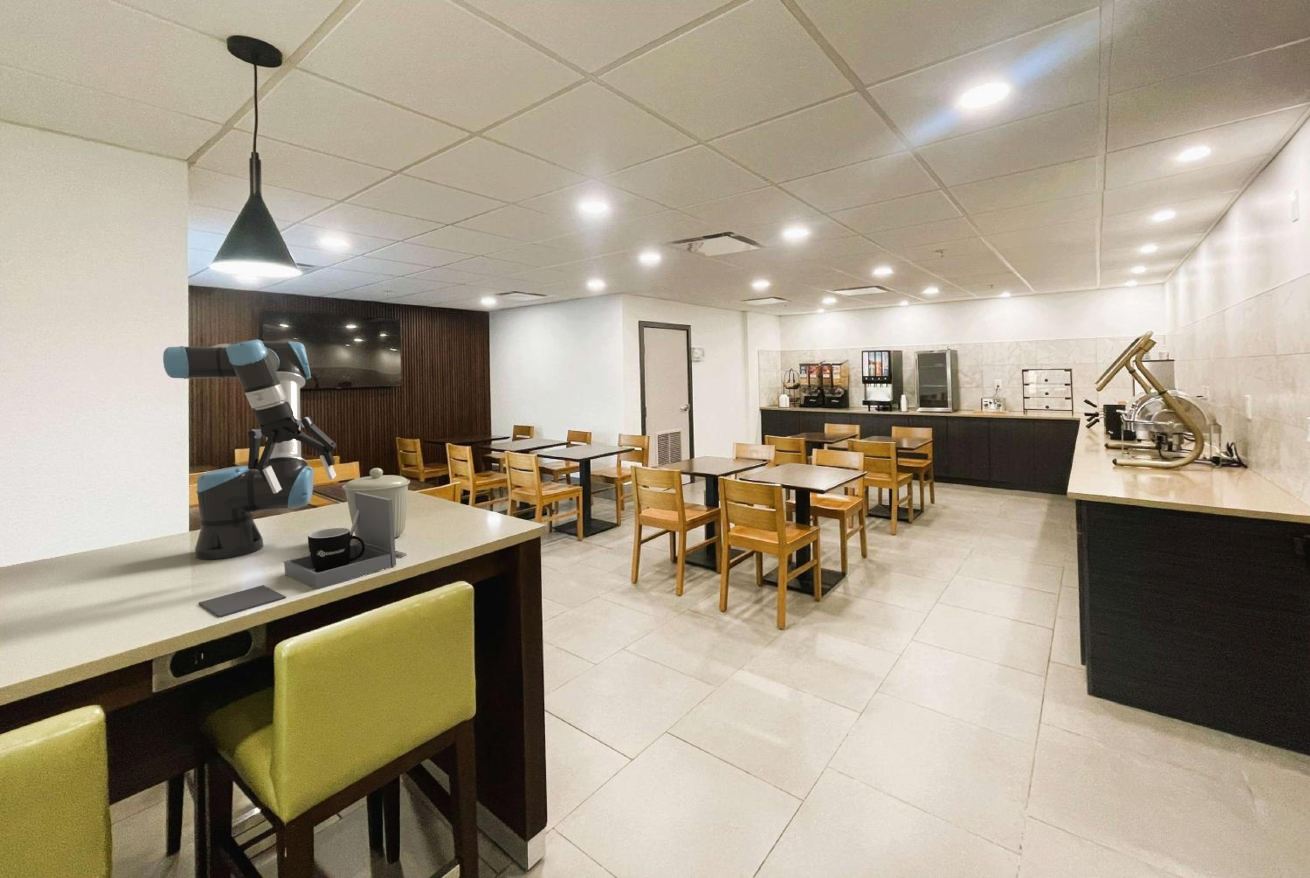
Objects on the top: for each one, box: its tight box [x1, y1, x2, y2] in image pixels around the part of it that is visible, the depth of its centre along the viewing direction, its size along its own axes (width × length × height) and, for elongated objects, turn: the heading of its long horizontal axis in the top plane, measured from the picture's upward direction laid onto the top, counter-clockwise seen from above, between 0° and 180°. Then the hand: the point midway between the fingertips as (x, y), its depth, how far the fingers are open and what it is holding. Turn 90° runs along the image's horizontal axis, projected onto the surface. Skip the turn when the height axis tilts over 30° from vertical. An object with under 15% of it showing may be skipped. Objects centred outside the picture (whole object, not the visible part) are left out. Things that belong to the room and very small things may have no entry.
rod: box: [395, 550, 407, 558], centre depth 153 cm, size 12×1×1 cm, turn 59°
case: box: [283, 492, 397, 590], centre depth 139 cm, size 17×19×17 cm
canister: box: [342, 467, 411, 538], centre depth 168 cm, size 18×18×21 cm
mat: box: [198, 584, 287, 618], centre depth 121 cm, size 12×12×1 cm
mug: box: [307, 527, 365, 573], centre depth 138 cm, size 12×9×10 cm
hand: (305, 484), depth 141 cm, fingers open, 13 cm apart
